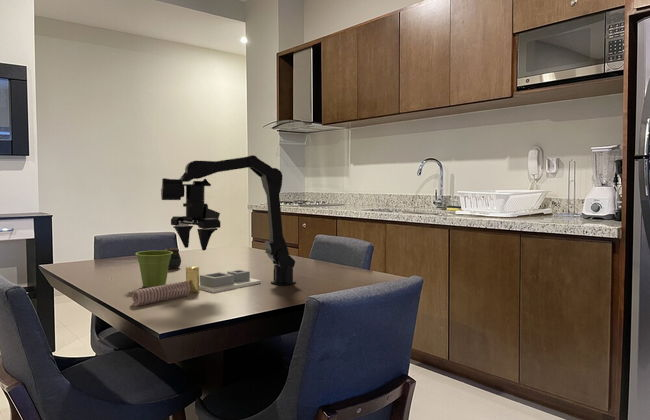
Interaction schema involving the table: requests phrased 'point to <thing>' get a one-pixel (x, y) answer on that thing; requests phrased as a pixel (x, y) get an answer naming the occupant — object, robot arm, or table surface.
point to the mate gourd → (174, 258)
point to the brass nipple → (193, 279)
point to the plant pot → (154, 267)
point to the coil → (160, 293)
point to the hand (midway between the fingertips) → (195, 248)
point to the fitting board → (226, 281)
